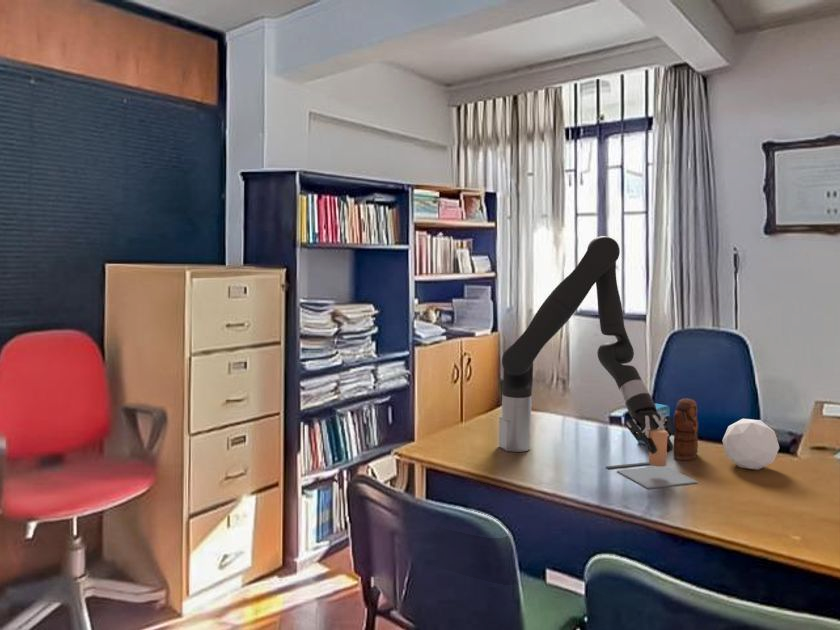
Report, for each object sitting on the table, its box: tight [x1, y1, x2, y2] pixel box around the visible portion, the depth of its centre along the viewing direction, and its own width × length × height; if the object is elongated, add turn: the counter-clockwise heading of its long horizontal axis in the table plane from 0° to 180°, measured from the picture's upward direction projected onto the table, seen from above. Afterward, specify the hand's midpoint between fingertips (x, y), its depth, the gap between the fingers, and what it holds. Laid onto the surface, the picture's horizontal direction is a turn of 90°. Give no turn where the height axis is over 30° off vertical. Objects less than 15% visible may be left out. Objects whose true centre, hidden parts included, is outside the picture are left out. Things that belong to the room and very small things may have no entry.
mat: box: [605, 461, 699, 490], centre depth 187 cm, size 18×18×1 cm
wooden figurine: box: [672, 397, 700, 461], centre depth 204 cm, size 12×6×18 cm, turn 146°
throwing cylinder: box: [648, 429, 668, 467], centre depth 184 cm, size 5×5×9 cm
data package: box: [637, 403, 671, 446], centre depth 219 cm, size 12×4×12 cm, turn 129°
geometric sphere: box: [721, 418, 780, 471], centre depth 194 cm, size 14×15×15 cm
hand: (662, 451), depth 183 cm, fingers closed on throwing cylinder, 4 cm apart
